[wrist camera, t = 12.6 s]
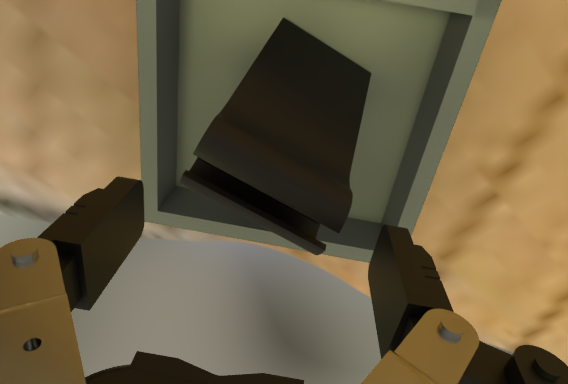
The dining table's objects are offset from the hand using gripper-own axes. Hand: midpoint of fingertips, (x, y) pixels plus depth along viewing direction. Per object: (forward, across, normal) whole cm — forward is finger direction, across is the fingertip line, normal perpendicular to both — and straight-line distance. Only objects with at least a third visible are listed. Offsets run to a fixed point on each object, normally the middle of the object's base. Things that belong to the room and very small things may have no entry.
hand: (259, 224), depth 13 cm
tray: (+14, 0, 0) cm, 14 cm away
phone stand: (+13, 0, 0) cm, 13 cm away
